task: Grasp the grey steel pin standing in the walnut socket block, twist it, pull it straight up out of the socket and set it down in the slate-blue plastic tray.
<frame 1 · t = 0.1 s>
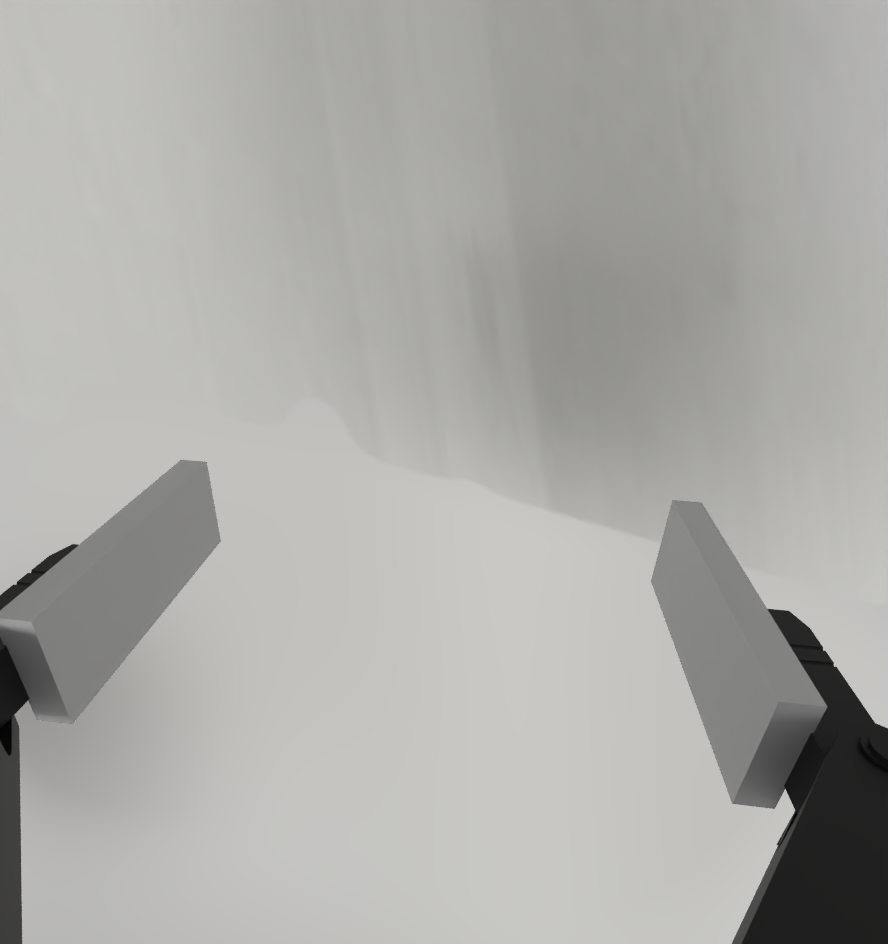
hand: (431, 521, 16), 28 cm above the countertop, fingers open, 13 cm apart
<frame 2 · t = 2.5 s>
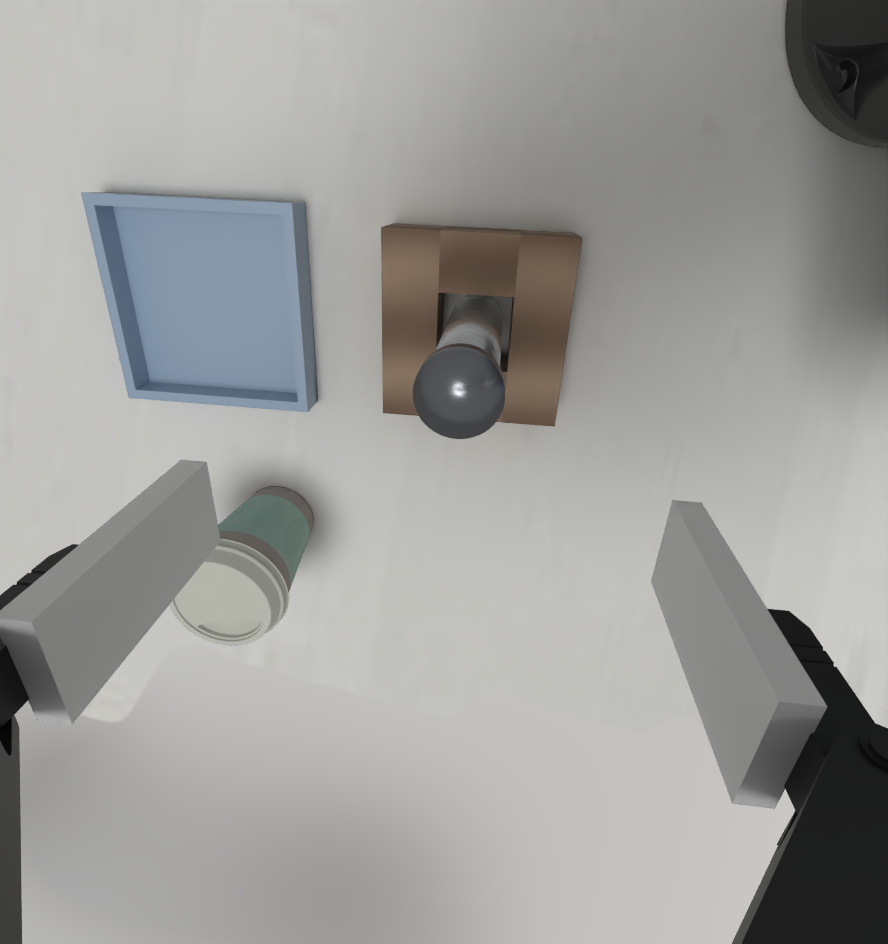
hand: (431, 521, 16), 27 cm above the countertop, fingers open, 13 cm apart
coffee cup: (282, 513, 49), on the countertop
tray: (219, 303, 41), on the countertop
socket block: (476, 320, 39), on the countertop
pin: (469, 349, 32), in the socket block
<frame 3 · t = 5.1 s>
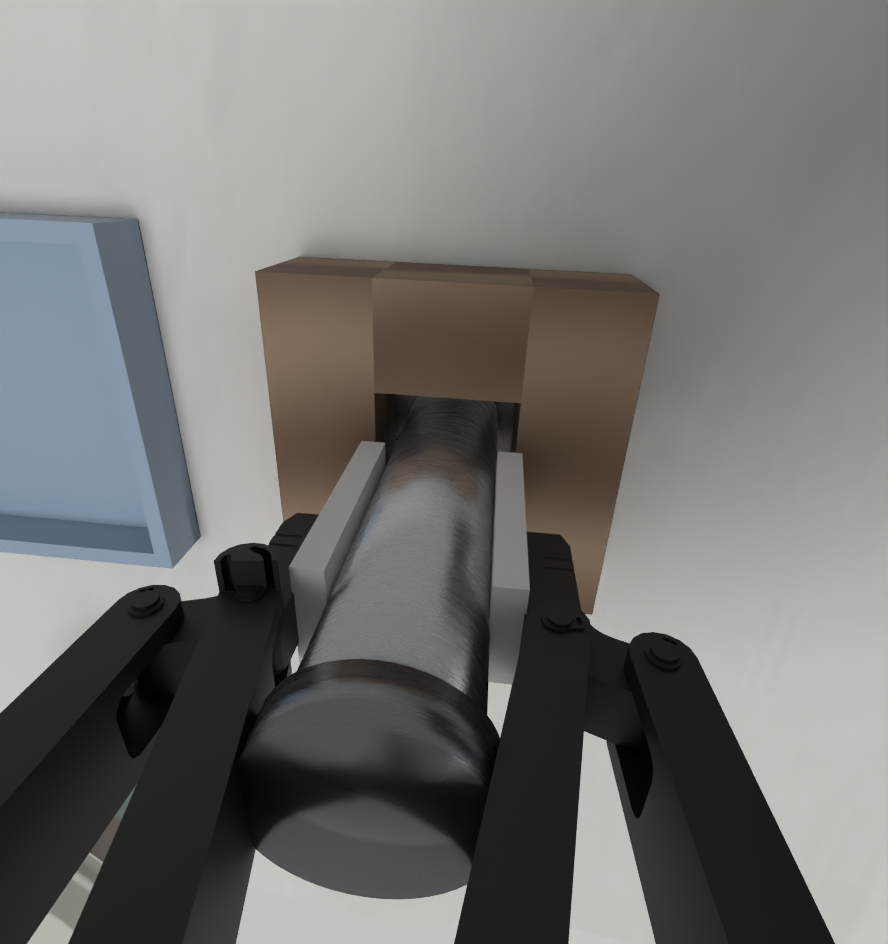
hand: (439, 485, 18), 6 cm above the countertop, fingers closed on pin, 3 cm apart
coffee cup: (167, 685, 32), on the countertop
tray: (18, 388, 24), on the countertop
socket block: (454, 420, 23), on the countertop
pin: (429, 528, 15), in the socket block, touching gripper
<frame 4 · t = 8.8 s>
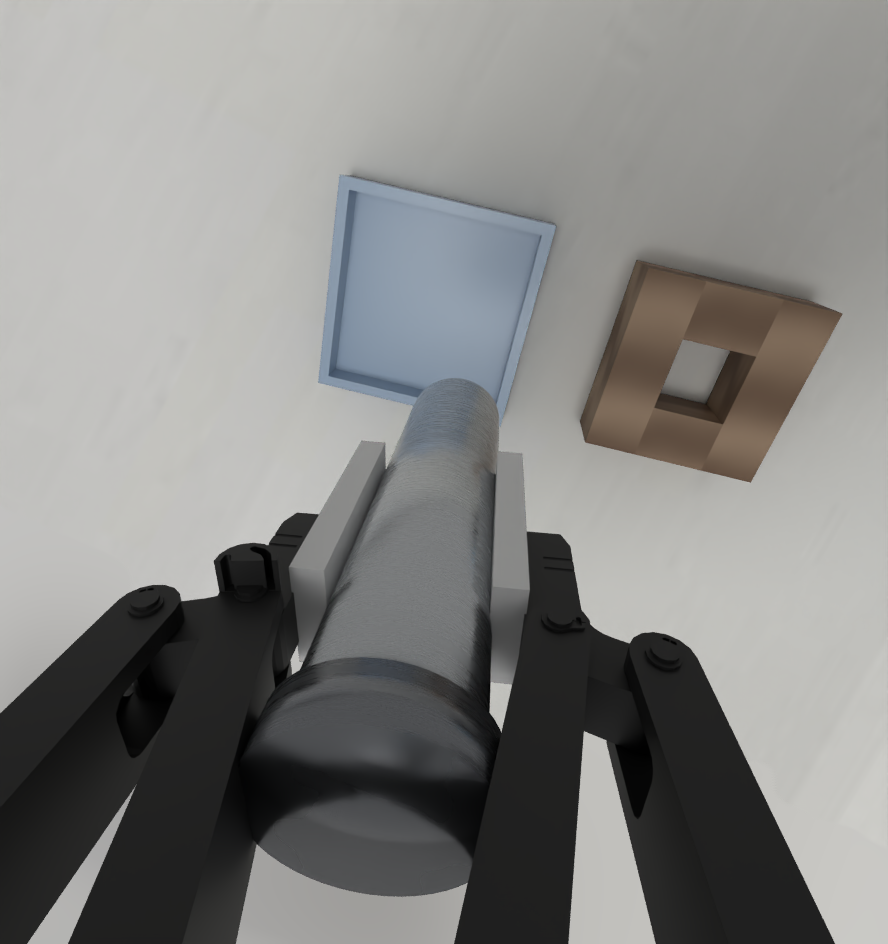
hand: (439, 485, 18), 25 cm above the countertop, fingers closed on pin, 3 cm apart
tray: (431, 304, 40), on the countertop
socket block: (687, 365, 40), on the countertop
pin: (431, 527, 16), point 28 cm above the countertop, touching gripper
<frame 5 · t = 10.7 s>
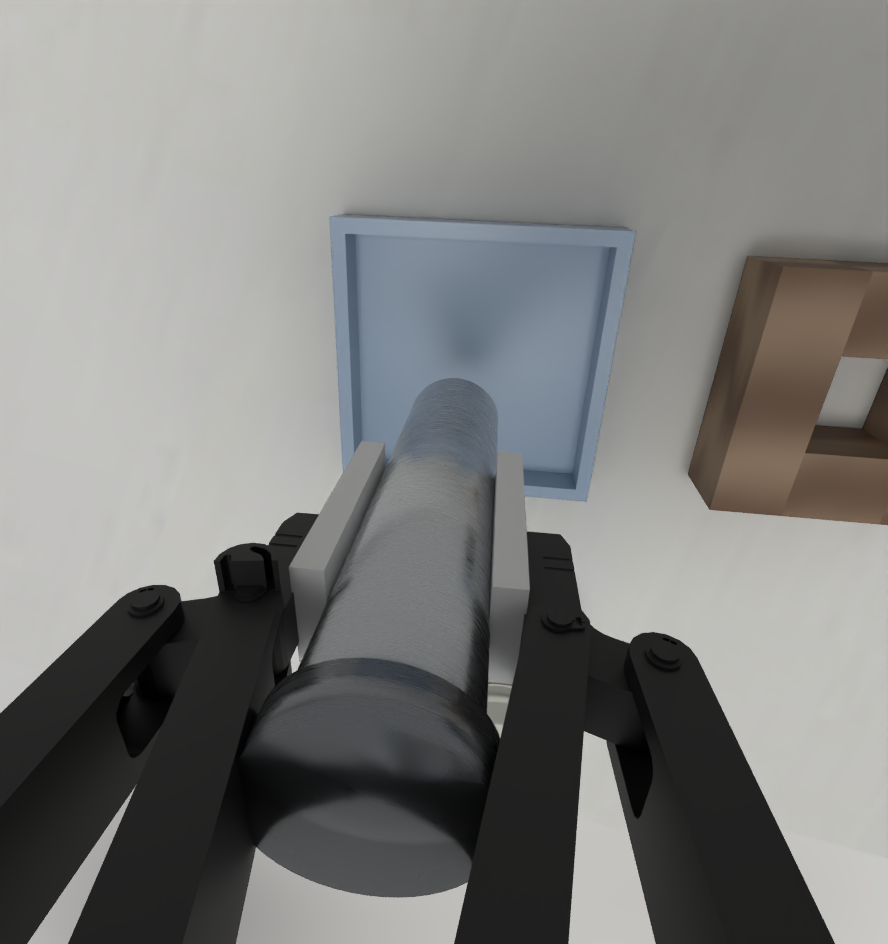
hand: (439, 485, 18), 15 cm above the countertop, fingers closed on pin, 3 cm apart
coffee cup: (499, 611, 39), on the countertop
tray: (473, 359, 31), on the countertop
socket block: (832, 383, 29), on the countertop
pin: (429, 527, 15), point 17 cm above the countertop, touching gripper
when the fingers open (7 cm above the countertop, at t = 12.5 s): pin stays where it is, resting on tray.
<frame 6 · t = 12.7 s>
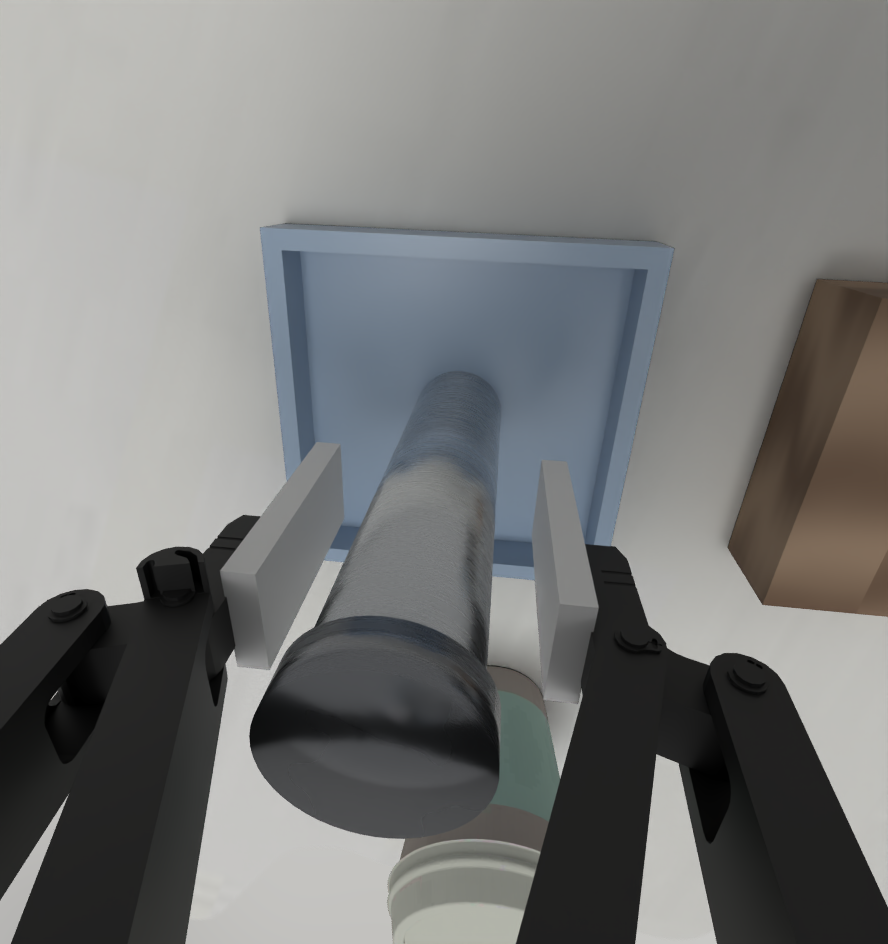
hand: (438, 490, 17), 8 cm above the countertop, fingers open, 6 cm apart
coffee cup: (493, 699, 32), on the countertop
tray: (457, 407, 24), on the countertop
pin: (434, 510, 16), in the tray, point 9 cm above the countertop
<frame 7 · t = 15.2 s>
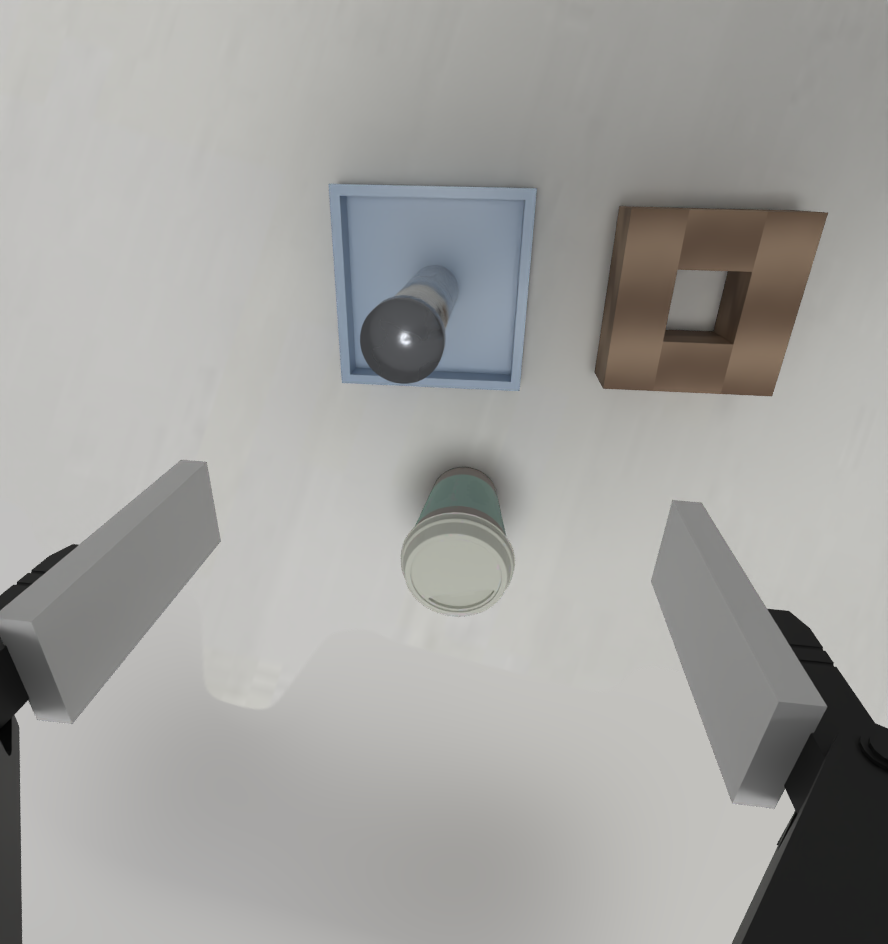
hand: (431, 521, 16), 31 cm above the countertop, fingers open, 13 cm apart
coffee cup: (464, 494, 51), on the countertop
tray: (434, 288, 42), on the countertop
socket block: (688, 297, 41), on the countertop
pin: (421, 311, 35), in the tray, point 9 cm above the countertop
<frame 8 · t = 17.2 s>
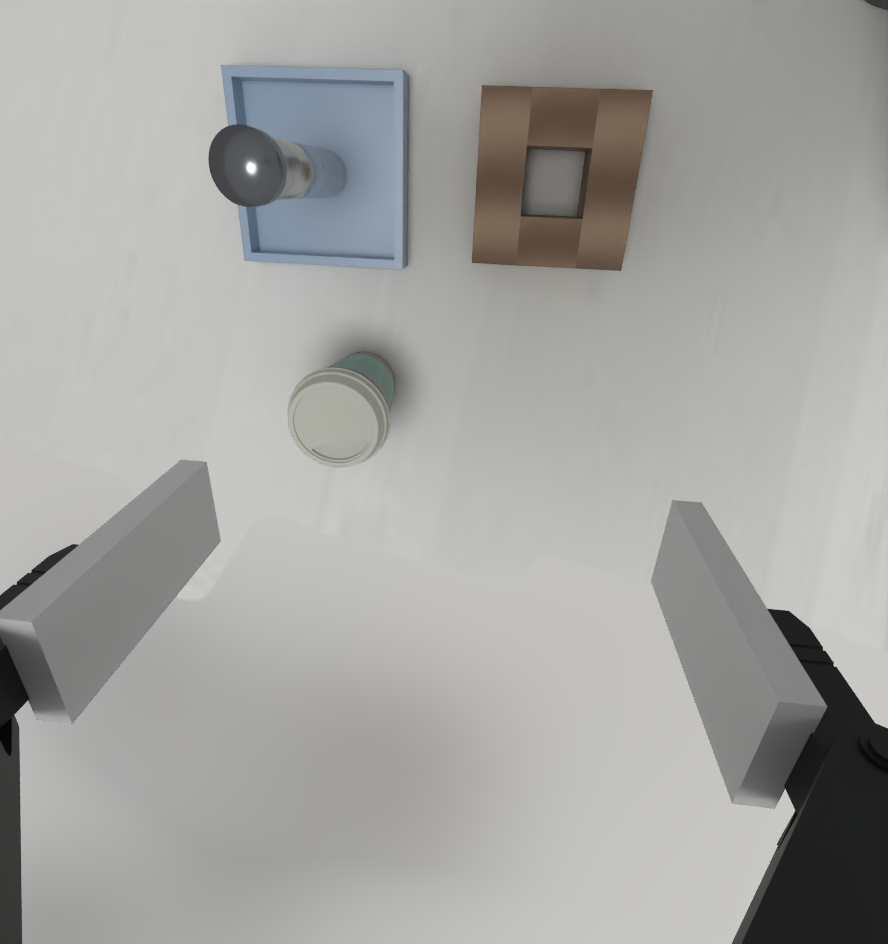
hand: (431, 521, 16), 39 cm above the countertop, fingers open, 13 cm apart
coffee cup: (367, 379, 55), on the countertop
tray: (326, 174, 47), on the countertop
socket block: (551, 183, 46), on the countertop
pin: (292, 171, 39), in the tray, point 9 cm above the countertop
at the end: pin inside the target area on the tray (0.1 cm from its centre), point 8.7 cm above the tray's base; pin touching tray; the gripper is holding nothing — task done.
